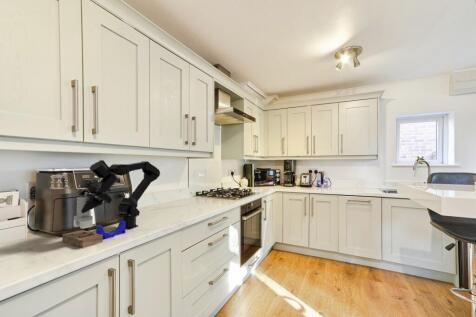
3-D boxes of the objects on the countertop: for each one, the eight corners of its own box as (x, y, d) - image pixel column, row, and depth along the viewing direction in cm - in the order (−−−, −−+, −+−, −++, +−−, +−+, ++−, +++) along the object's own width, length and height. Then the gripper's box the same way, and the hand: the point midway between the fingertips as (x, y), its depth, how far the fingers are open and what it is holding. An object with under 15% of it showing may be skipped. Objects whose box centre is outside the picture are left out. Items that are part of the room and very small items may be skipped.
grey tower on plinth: (73, 226, 97) (74, 196, 97) (83, 224, 100) (83, 195, 101) (82, 228, 94) (83, 198, 94) (92, 226, 97) (92, 196, 97)
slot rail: (62, 241, 97) (62, 234, 97) (82, 236, 104) (82, 229, 104) (82, 248, 90) (83, 240, 90) (102, 242, 97) (102, 235, 97)
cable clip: (100, 240, 99) (100, 227, 99) (95, 238, 101) (96, 225, 101) (126, 234, 108) (127, 221, 108) (122, 232, 111) (122, 220, 111)
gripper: (81, 172, 105) (53, 199, 95) (105, 173, 97) (77, 203, 87) (98, 187, 112) (73, 213, 102) (122, 189, 103) (97, 218, 93)
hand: (79, 212), depth 96 cm, fingers closed on grey tower on plinth, 3 cm apart
